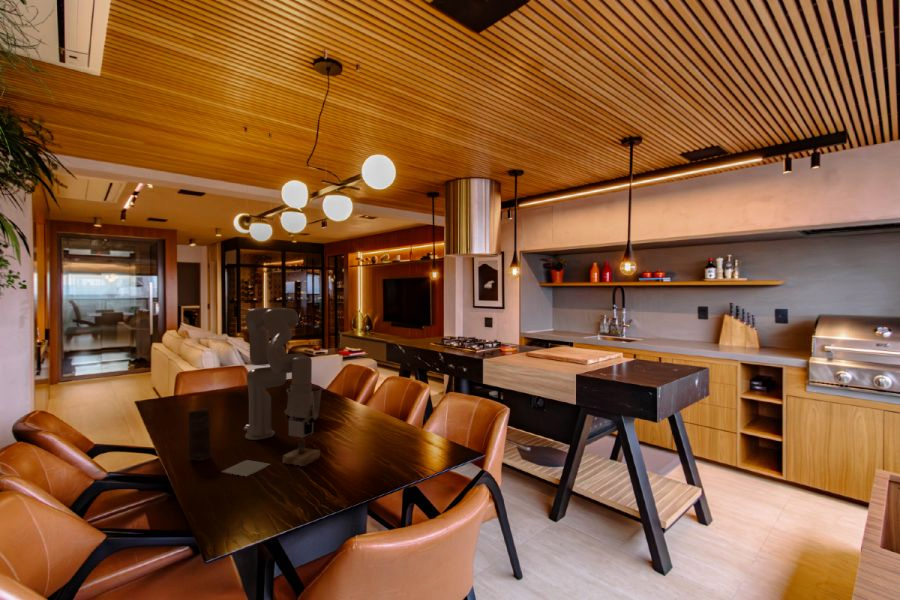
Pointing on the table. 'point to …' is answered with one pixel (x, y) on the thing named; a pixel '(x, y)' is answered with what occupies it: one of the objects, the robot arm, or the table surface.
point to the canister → (316, 395)
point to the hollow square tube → (298, 427)
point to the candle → (199, 435)
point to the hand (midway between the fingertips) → (301, 432)
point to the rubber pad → (246, 468)
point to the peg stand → (301, 455)
